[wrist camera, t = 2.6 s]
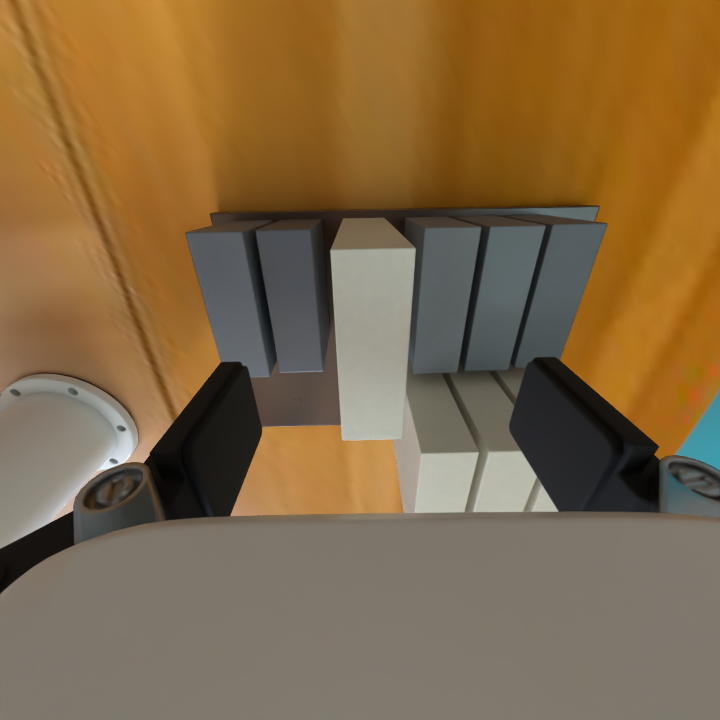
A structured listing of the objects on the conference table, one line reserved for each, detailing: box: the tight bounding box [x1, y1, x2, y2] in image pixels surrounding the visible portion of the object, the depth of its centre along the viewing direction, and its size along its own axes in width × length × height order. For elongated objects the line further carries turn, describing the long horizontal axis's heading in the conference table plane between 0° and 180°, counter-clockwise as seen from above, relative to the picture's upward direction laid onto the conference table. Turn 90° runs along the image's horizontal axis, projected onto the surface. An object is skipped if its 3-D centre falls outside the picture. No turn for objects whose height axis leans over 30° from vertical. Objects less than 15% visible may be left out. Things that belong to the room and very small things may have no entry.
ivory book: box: [330, 218, 416, 440], centre depth 18 cm, size 3×9×13 cm, turn 1°
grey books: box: [185, 215, 607, 377], centre depth 21 cm, size 22×9×7 cm, turn 91°
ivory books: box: [393, 360, 558, 513], centre depth 23 cm, size 10×9×13 cm
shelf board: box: [210, 205, 599, 427], centre depth 27 cm, size 28×20×2 cm
